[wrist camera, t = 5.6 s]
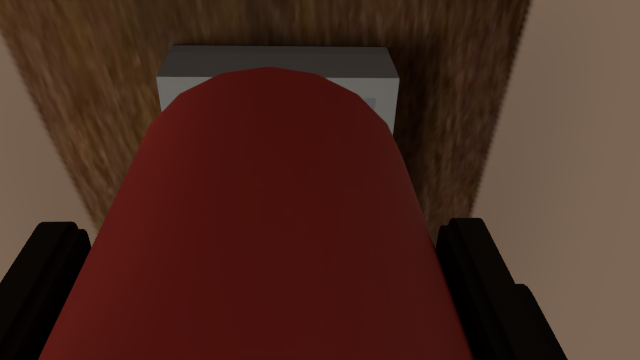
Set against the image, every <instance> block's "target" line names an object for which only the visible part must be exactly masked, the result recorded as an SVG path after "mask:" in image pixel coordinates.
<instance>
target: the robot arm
mask: <svg viewBox="0 0 640 360" xmlns="http://www.w3.org/2000/svg"><path fill="white" fill-rule="evenodd" d="M90 250H91V245H90V241H89V237H88V234H87V232H86V231H85V230H84V229H78V227H77V225H76V224H75V223H74V222H41V223H39V224H38V226H37V227H36V228H35V230H34V231H33V233H32V235H31V236H30V238H29V239H28V241H27V242H26V244H25V245H24V247H23V248H22V250H21V252H20V253H19V255H18V256H17V258H16V259H15V261H14V263H13V264H12V266H11V267H10V269H9V270H8V272H7V273H6V275H5V276H4V278H3V280H2V281H1V283H0V360H38V359H39V357H40V355H41V352H42V350H43V348H44V346H45V344H46V342H47V340H48V338H49V336H50V334H51V332H52V329H53V327H54V325H55V323H56V321H57V319H58V317H59V315H60V313H61V311H62V308H63V306H64V304H65V302H66V300H67V298H68V296H69V294H70V292H71V290H72V288H73V285H74V283H75V281H76V279H77V277H78V275H79V273H80V271H81V269H82V267H83V264H84V262H85V260H86V258H87V256H88V254H89V252H90ZM436 252H437V255H438V258H439V260H440V263H441V266H442V269H443V272H444V274H445V277H446V280H447V283H448V286H449V288H450V291H451V294H452V297H453V300H454V302H455V305H456V308H457V311H458V313H459V316H460V319H461V322H462V325H463V327H464V330H465V333H466V336H467V339H468V341H469V344H470V347H471V350H472V353H473V355H474V358H475V360H568V359H567V358H566V356H565V354H564V352H563V350H562V348H561V346H560V344H559V343H558V341H557V339H556V337H555V335H554V333H553V331H552V330H551V328H550V326H549V324H548V322H547V320H546V318H545V316H544V314H543V313H542V311H541V309H540V307H539V305H538V303H537V301H536V299H535V298H534V296H533V294H532V292H531V291H530V289H529V288H528V287H527V286H525V285H524V284H515V282H514V280H513V278H512V276H511V274H510V272H509V270H508V268H507V267H506V265H505V263H504V261H503V259H502V257H501V255H500V253H499V251H498V249H497V247H496V245H495V243H494V241H493V239H492V237H491V235H490V233H489V231H488V229H487V227H486V225H485V223H484V222H483V220H482V219H481V218H452V219H451V220H450V221H449V224H448V225H442V226H441V227H440V230H439V234H438V239H437V245H436Z"/></svg>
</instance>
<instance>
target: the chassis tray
mask: <svg viewBox="0 0 640 360" xmlns="http://www.w3.org/2000/svg"><path fill="white" fill-rule="evenodd" d="M268 66H270V67H276V68H283V69H289V70H295V71H302V72H308V73H314V74H318V75H320V76H322V77H324V78H326V79H328V80H330V81H332V82H334V83H336V84H338V85H340V86H342V87H344V88H346V89H348V90H350V91H352V92H354V93H356V94H358V95H359V96H360V97H361V98H362V99H363V100H364V101H365V102H366V103H367V104H368V105H369V106H370V107H371V108H372V109H373V110H374V111H375V112H376V113H377V114H378V115H379V116H380V117H381V118H382V119H383V120H384V121H385V122H386V123H387V124H388V127H389V129H390V131H391V133H392V135H393V129H394V121H395V112H396V104H397V96H398V87H399V79H400V78H399V76H398V73H397V71H396V69H395V66H394V64H393V62H392V59H391V57H390V55H389V52H388V50H387V48H386V47H316V46H208V45H172V47H171V49H170V51H169V53H168V55H167V57H166V59H165V61H164V63H163V65H162V67H161V68H160V70H159V72H158V74H157V76H156V78H157V85H158V91H159V98H160V104H161V110H162V111H163V110H164V109H165V108H166V107H167V106H168V105H169V104H170V103H171V102H172V101H173V100H174V99H175V98H176V97H177V96H178V95H179V94H180V93H182V92H184V91H186V90H188V89H190V88H192V87H194V86H196V85H198V84H200V83H202V82H204V81H206V80H208V79H210V78H213V77H215V76H217V75H219V74H221V73H226V72H233V71H240V70H247V69H254V68H261V67H268Z"/></svg>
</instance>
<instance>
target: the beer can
mask: <svg viewBox="0 0 640 360" xmlns="http://www.w3.org/2000/svg"><path fill="white" fill-rule="evenodd" d="M38 360H475V358H474V355H473V353H472V350H471V347H470V344H469V341H468V339H467V336H466V333H465V330H464V327H463V325H462V322H461V319H460V316H459V313H458V311H457V308H456V305H455V302H454V300H453V297H452V294H451V291H450V288H449V286H448V283H447V280H446V277H445V274H444V272H443V269H442V266H441V263H440V260H439V258H438V255H437V252H436V249H435V246H434V244H433V241H432V238H431V235H430V232H429V230H428V227H427V224H426V221H425V219H424V216H423V213H422V210H421V207H420V205H419V202H418V199H417V196H416V193H415V191H414V188H413V185H412V182H411V179H410V177H409V174H408V171H407V168H406V165H405V163H404V160H403V157H402V155H401V153H400V151H399V149H398V146H397V144H396V142H395V140H394V138H393V135H392V133H391V131H390V129H389V127H388V124H387V123H386V122H385V121H384V120H383V119H382V118H381V117H380V116H379V115H378V114H377V113H376V112H375V111H374V110H373V109H372V108H371V107H370V106H369V105H368V104H367V103H366V102H365V101H364V100H363V99H362V98H361V97H360V96H359V95H358V94H356V93H354V92H352V91H350V90H348V89H346V88H344V87H342V86H340V85H338V84H336V83H334V82H332V81H330V80H328V79H326V78H324V77H322V76H320V75H318V74H314V73H308V72H302V71H295V70H289V69H283V68H276V67H270V66H268V67H261V68H254V69H247V70H240V71H233V72H226V73H221V74H219V75H217V76H215V77H213V78H210V79H208V80H206V81H204V82H202V83H200V84H198V85H196V86H194V87H192V88H190V89H188V90H186V91H184V92H182V93H180V94H179V95H178V96H177V97H176V98H175V99H174V100H173V101H172V102H171V103H170V104H169V105H168V106H167V107H166V108H165V109H164V110H163V111H162V113H161V114H160V115H159V116H158V117H157V118H156V119H155V120H154V121H153V122H152V123H151V124H150V126H149V128H148V130H147V132H146V135H145V137H144V139H143V141H142V143H141V145H140V147H139V149H138V151H137V153H136V155H135V158H134V160H133V162H132V164H131V166H130V168H129V170H128V172H127V174H126V176H125V179H124V181H123V183H122V185H121V187H120V189H119V191H118V193H117V195H116V197H115V200H114V202H113V204H112V206H111V208H110V210H109V212H108V214H107V216H106V218H105V220H104V223H103V225H102V227H101V229H100V231H99V233H98V235H97V237H96V239H95V241H94V244H93V246H92V248H91V250H90V252H89V254H88V256H87V258H86V260H85V262H84V264H83V267H82V269H81V271H80V273H79V275H78V277H77V279H76V281H75V283H74V285H73V288H72V290H71V292H70V294H69V296H68V298H67V300H66V302H65V304H64V306H63V308H62V311H61V313H60V315H59V317H58V319H57V321H56V323H55V325H54V327H53V329H52V332H51V334H50V336H49V338H48V340H47V342H46V344H45V346H44V348H43V350H42V352H41V355H40V357H39V359H38Z"/></svg>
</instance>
